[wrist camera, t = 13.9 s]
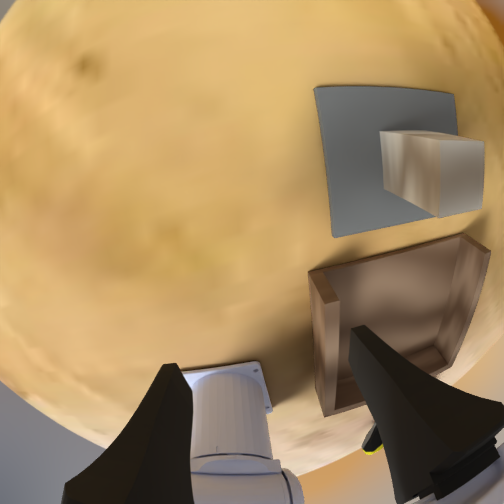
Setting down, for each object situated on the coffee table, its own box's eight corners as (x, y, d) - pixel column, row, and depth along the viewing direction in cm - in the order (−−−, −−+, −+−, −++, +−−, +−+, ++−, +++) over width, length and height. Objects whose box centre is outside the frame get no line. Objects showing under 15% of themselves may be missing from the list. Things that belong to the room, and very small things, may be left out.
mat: (452, 210, 19) (456, 212, 18) (331, 235, 19) (334, 238, 18) (449, 94, 14) (453, 94, 14) (313, 88, 14) (316, 87, 14)
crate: (435, 345, 26) (451, 366, 23) (315, 388, 26) (324, 417, 23) (463, 232, 20) (491, 251, 16) (308, 271, 20) (324, 304, 16)
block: (425, 183, 17) (481, 208, 11) (383, 188, 17) (438, 218, 12) (423, 130, 15) (484, 141, 10) (379, 131, 15) (439, 140, 10)
